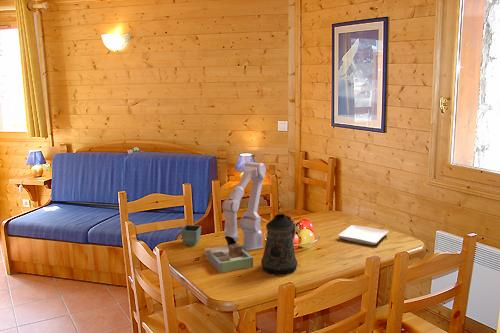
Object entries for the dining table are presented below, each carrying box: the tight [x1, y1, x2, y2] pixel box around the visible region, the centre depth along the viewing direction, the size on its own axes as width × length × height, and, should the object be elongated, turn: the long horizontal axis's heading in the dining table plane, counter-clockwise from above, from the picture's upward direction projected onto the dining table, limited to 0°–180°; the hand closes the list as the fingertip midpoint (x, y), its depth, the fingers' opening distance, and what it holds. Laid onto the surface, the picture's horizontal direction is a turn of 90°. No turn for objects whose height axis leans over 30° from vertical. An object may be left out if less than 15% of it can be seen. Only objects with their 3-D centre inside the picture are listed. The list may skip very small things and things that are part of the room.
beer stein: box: [260, 213, 298, 277], centre depth 222 cm, size 16×19×25 cm
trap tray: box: [204, 244, 254, 274], centre depth 234 cm, size 16×25×4 cm, turn 23°
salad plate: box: [337, 224, 389, 246], centre depth 261 cm, size 21×21×3 cm
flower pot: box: [179, 224, 202, 247], centre depth 255 cm, size 9×9×9 cm
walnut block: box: [229, 242, 243, 258], centre depth 233 cm, size 5×5×5 cm
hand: (231, 250), depth 237 cm, fingers closed
